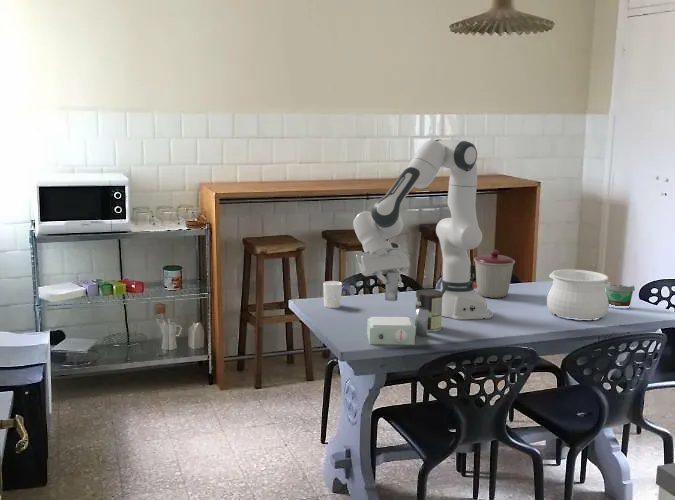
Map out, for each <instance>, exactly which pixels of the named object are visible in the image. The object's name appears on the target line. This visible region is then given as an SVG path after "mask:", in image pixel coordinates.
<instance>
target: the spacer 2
mask: <svg viewBox="0 0 675 500" xmlns="http://www.w3.org/2000/svg"><path fill="white" fill-rule="evenodd" d="M415 312H416V328H415V337H419V338H426V337H428V332H427V328H428V309H427V308H417V309H416V308H415Z"/></svg>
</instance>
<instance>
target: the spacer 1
mask: <svg viewBox="0 0 675 500" xmlns="http://www.w3.org/2000/svg"><path fill="white" fill-rule="evenodd" d="M386 277H387V278H388V280H389V282H388V283H387V284H385V295H384V296H385V298H384V300H385V301H388V302H397V301H398V295H399V294H398V293H399V282H398V272H395V271H388V272H386V274H385V278H386Z"/></svg>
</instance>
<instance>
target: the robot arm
mask: <svg viewBox="0 0 675 500" xmlns="http://www.w3.org/2000/svg"><path fill="white" fill-rule="evenodd" d="M477 159H478V150H477V148H476V145H474V144H473V143H472V142H470V141H466V140H459V139H435V140H433V139H432V140H427V141H425V142H424V143H423V144H422V146H420V148H418V150H417V151H416V152H415V154H414V155H413V157H412V159H411V160H410V162H409V163H408V165H407V166H406V169H404V170H403V171H402V172H401V174H400V175H399V176H398V178H397V179H396V180H395V182H393V185H392V186H391V187H390V189H389V190H388V191H387V193H386V194H385V195H383V196H382V197H381V198H379V199H378V200H377V201H376V202H375V203H374V204H373V206H372V208H371V211H368V210H364V211H361V212H359V213H358V214H357V215H356V216H355V217H354V219H353V223H352V225H353V229H354V232H355V235H356V237H357V239H358V241H359V242H360V243H361V245H362V249H363V251H364V252H358V253H357V254H356V256H355V259H356V260H357V262H358V267H359V270H360V272H361V274H362V275H363V276H364V277H370V276H376V277H377V278H378V279H379V280H380V281H381V282H382V284H384V285H386V284H387V283H388V282H389V280H388V278H387V277H386V276H384V275H386V272H388V271H395V272H398V283H400V282H401V281H402V280H403V279H402V277H401V273H402V272H407V271H408V269H409V268H410V266H411V262H410V261H409V258H408V257H407V255H406V253H405V252H404V251H403V250H402V249H401V248H402V247H401V245H400V244H399V243H397V242H393V241H389V240H390V239H393V238H395V237H398V236H399V235H400V234H401V233H402V232H403V230H404V228H405V227H404V226H405V224H404V223H405V222H404V220H403V217H402V214H401V204H402V203H403V202H404V200H405V198H406V197H407V196H408V195H409V193H410V192H411V191H412V190H413V188H416V189H425V188H427V187H429V186H430V185H431V184H432V182H433V181H435V180H434V179H435V178H436V176H437V175H438V173H439V172H440V169H441V168H444V169H445V168H446V169H449V170H450V175H449V179H448V189H447V190H448V191H447V192H448V193H447V201H446V203H447V207H448V208H449V212H450V217H446V218H442V219H441V220H439V221H438V222H437V224H436V227H435V235H436V236H437V238H438V240H439V244H440V249H441V255H442V265H443V266H442V279H441V280H440V281H441V283H440V291H441V292H443V299H442V317H446V318H450V319H454V320H459V321H460V320H461V321H462V320H480V319H481V320H482V319H483V318H485V319H492V318H493V316H494V313H493V312H492V311H491V310H490V309H488V303H487V300H486V299H485V297H484V296H481V295H480V294H479V293H478V291H477V287H478V286H477V282H474V281H472V280H471V266H472V263H471V259H470V257H469V255H468V251H467V250H474V249H476V248H478V247H479V246H480V244H481V243H482V240H483V233H482V230H481V228H480V226H479V223H478V218H477V217H478V216H477V211H476V210H477V209H476V208H477V207H476V203H477V202H476V201H477V185H478V168H477ZM491 317H492V318H491Z"/></svg>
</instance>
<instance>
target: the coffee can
mask: <svg viewBox="0 0 675 500" xmlns="http://www.w3.org/2000/svg"><path fill="white" fill-rule="evenodd" d="M442 299H443V292H441V290H437V289H432V288H431V289H430V288H429V289H428V288H425V289H424V288H423V289H418V290H416V291H415V310H416V309H417V308H427V309H428V328H427V333H429V332H430V333H432V332H433V333H434V332H438V331H441V329H442V317H443V316H442ZM414 314H415V316H414V327H415V329H416V311H415V312H414Z"/></svg>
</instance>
